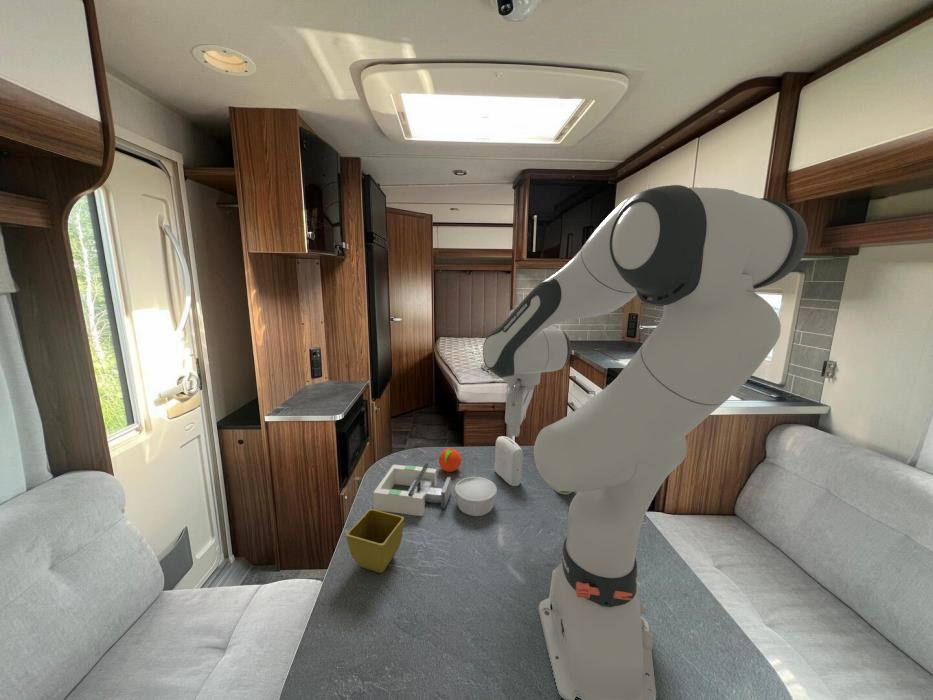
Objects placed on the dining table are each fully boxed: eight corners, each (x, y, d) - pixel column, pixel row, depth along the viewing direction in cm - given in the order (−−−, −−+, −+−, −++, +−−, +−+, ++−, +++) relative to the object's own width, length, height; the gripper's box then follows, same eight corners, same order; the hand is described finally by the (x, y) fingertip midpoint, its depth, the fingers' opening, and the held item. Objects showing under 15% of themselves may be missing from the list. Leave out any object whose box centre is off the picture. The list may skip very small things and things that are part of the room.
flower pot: (384, 584, 72) (383, 545, 70) (347, 572, 75) (344, 534, 73) (405, 552, 80) (404, 516, 78) (371, 542, 83) (369, 508, 81)
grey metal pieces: (441, 519, 90) (441, 497, 89) (400, 513, 92) (400, 492, 91) (453, 484, 105) (453, 466, 104) (418, 480, 107) (418, 462, 105)
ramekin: (476, 488, 104) (476, 471, 103) (505, 507, 96) (506, 489, 95) (445, 504, 97) (445, 486, 96) (474, 526, 89) (474, 507, 88)
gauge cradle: (422, 516, 92) (422, 497, 91) (374, 509, 94) (373, 491, 93) (436, 484, 105) (436, 468, 104) (393, 479, 107) (393, 463, 106)
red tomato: (455, 480, 108) (455, 458, 106) (434, 475, 110) (433, 454, 108) (464, 466, 115) (464, 445, 114) (443, 462, 117) (443, 442, 116)
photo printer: (523, 484, 106) (525, 445, 103) (511, 488, 104) (513, 448, 101) (504, 467, 115) (505, 431, 112) (492, 470, 113) (493, 434, 110)
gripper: (528, 389, 77) (524, 448, 80) (540, 364, 96) (536, 413, 99) (499, 385, 78) (496, 443, 82) (516, 361, 97) (513, 409, 101)
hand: (518, 426), depth 90 cm, fingers open, 8 cm apart
